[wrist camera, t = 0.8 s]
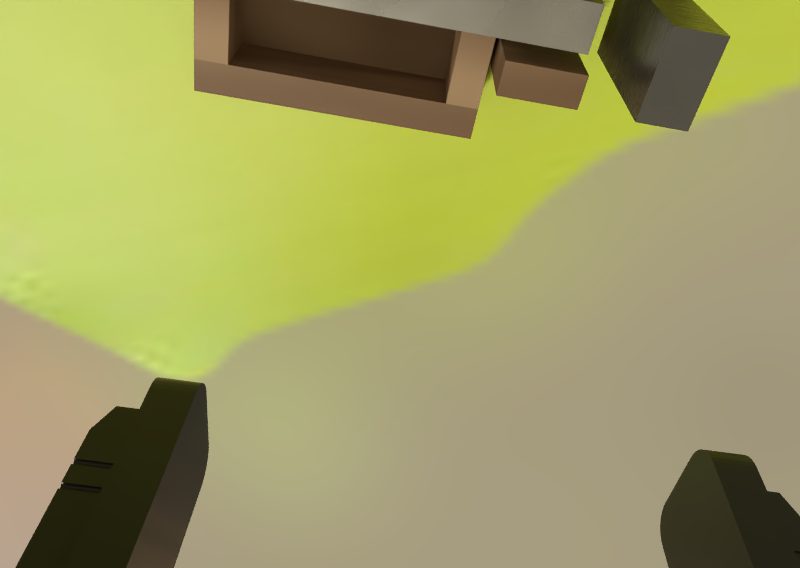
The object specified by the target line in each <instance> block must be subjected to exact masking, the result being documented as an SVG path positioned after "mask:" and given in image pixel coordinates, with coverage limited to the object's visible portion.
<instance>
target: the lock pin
mask: <svg viewBox="0 0 800 568" xmlns="http://www.w3.org/2000/svg"><path fill="white" fill-rule="evenodd" d="M296 1H302V2H307V3H312V4H318V5H323V6H328V7H334V8H339V9H345V10H350V11H355V12H361V13H366V14H371V15H377V16H382V17H388V18H393V19H398V20H404V21H409V22H414V23H420V24H425V25H431V26H436V27H441V28H447V29H452V30H457V31H463V32H468V33H474V34H479V35H484V36H490V37H495V38H501V39H506V40H511V41H517V42H522V43H527V44H533V45H538V46H544V47H549V48H554V49H560V50H565V51H570V52H576V53H581V54H587V55H588V53H589V50H590V47H591V44H592V41H593V38H594V35H595V32H596V29H597V26H598V23H599V20H600V17H601V14H602V11H603V8H604V5H605V4H604V3H603V1H602V0H296ZM729 39H730V36H729V35H728V34H727V33H726V32H725V31H724V30H723V29H722V28H721V27H720V26H719V25H718V24H717V23H716V22H715V21H714V20H713V19H712V18H711V17H709V16H708V15H707V14H706V13H705V12H704V11H703V10H702V9H701V8H700V7H699V6H698V5H697V4H696V3H695V2H694V1H693V0H615V2H614V5H613V8H612V11H611V14H610V16H609V19H608V22H607V25H606V28H605V31H604V34H603V37H602V40H601V43H600V46H599V49H598V52H597V53H598V55H599V56H600V58H601V60H602V62H603V64H604V66H605V67H606V69H607V71H608V73H609V75H610V77H611V78H612V80H613V82H614V84H615V86H616V88H617V89H618V91H619V93H620V95H621V97H622V99H623V100H624V102H625V104H626V106H627V108H628V110H629V111H630V113H631V115H632V117H633V119H634V120H635V122H638V123H644V124H649V125H655V126H660V127H666V128H671V129H677V130H683V131H688V130H689V128H690V126H691V123H692V121H693V119H694V117H695V114H696V112H697V110H698V108H699V106H700V103H701V101H702V99H703V97H704V94H705V92H706V90H707V88H708V85H709V83H710V81H711V79H712V76H713V74H714V72H715V70H716V68H717V65H718V63H719V61H720V59H721V56H722V54H723V52H724V50H725V47H726V45H727V43H728V41H729Z"/></svg>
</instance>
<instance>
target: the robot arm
mask: <svg viewBox="0 0 800 568" xmlns="http://www.w3.org/2000/svg"><path fill="white" fill-rule="evenodd" d="M208 445H209V442H208V419H207V397H206V386H205V384H204V383H197V382H190V381H182V380H174V379H166V378H156V379H155V380H154V381H153V383H152V384H151V386H150V388H149V391H148V392H147V395H146V397H145V399H144V401H143V403H142V405H141V407H140V409H134V408H126V407H119V406H117V407H115V408H114V409H113V410H112V411H111V412H109V413H108V414H107V415H106V416H105V417H104V418H103V419H101V420H100V421H99V422H98V423H97V424H96V425H95V426H94V427H92V428H91V429H90V430H89V432H88V434H87V436H86V438H85V439H84V441H83V443H82V445H81V447H80V449H79V451H78V452H77V454H76V456H75V458H74V463H73V464H71V466H70V467H69V469H68V471H67V473H66V475H65V477H64V478H63V480H62V482H61V487H60V489H58V490H57V491H56V493H55V495H54V497H53V499H52V501H51V503H50V505H49V506H48V508H47V510H46V512H45V514H44V516H43V518H42V519H41V521H40V523H39V525H38V527H37V529H36V530H35V533H34V534H33V536H32V538H31V540H30V542H29V543H28V545H27V547H26V549H25V551H24V553H23V555H22V557H21V558H20V561H19V562H18V564H17V566H16V568H174V566H175V563H176V560H177V557H178V554H179V551H180V548H181V545H182V542H183V539H184V536H185V533H186V530H187V527H188V524H189V521H190V518H191V516H192V512H193V510H194V507H195V504H196V501H197V498H198V495H199V492H200V489H201V486H202V483H203V479H204V476H205V471H206V466H207V459H208V450H209V449H208V448H209V446H208ZM660 531H661V541H662V545H663V549H664V552H665V556H666V559H667V563H668V567H669V568H800V516H799V515H798V514H797V512H796V511H795V510H794V509H793V508H792V507H791V506H790V505H789V503H788V502H787V501H786V500H785V499H784V498H783V497H782V496H781V494H780V493H777V492H769V491H767V490H766V487H765V485H764V483H763V481H762V478H761V476H760V474H759V472H758V469H757V467H756V465H755V463H754V462H753V461H752V459H751V458H749V457H748V456H746V455H740V454H732V453H724V452H717V451H709V450H698V451H696V452H695V453H694V454H693V455H692V457H691V459H690V461H689V462H688V464H687V466H686V467H685V469H684V471H683V473H682V475H681V476H680V478H679V480H678V482H677V483H676V485H675V487H674V489H673V491H672V492H671V494H670V496H669V498H668V499H667V501H666V503H665V505H664V508H663V511H662V515H661V524H660Z"/></svg>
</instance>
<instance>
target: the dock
mask: <svg viewBox="0 0 800 568" xmlns="http://www.w3.org/2000/svg"><path fill="white" fill-rule="evenodd" d="M489 63H491V69H492V74H493V79H494V85H495V90H496V95H497V96H503V97H508V98H514V99H519V100H525V101H530V102H536V103H541V104H547V105H553V106H558V107H564V108H569V109H575V110H577V109H578V107H579V104H580V101H581V98H582V95H583V92H584V89H585V86H586V83H587V80H588V77H589V75H588V73H587V71H586V69H585V67H584V65H583V62H582V60H581V58H580V56H579V54H578V53H576V52H570V51H565V50H560V49H554V48H549V47H544V46H538V45H533V44H527V43H522V42H517V41H511V40H506V39H501V38H495V37H490V36H484V35H479V34H474V33H468V32H463V31H457V30H452V29H447V28H441V27H436V26H431V25H425V24H420V23H414V22H409V21H404V20H398V19H393V18H388V17H382V16H377V15H371V14H366V13H361V12H355V11H350V10H345V9H339V8H334V7H328V6H323V5H318V4H312V3H307V2H302V1H296V0H194V90H195V91H200V92H206V93H212V94H217V95H223V96H229V97H234V98H240V99H246V100H252V101H257V102H263V103H269V104H274V105H280V106H286V107H292V108H297V109H303V110H309V111H314V112H320V113H326V114H332V115H337V116H343V117H349V118H354V119H360V120H366V121H372V122H377V123H383V124H389V125H394V126H400V127H406V128H412V129H417V130H423V131H429V132H434V133H440V134H446V135H452V136H457V137H463V138H469V139H471V135H472V131H473V127H474V123H475V119H476V115H477V111H478V107H479V103H480V99H481V95H482V91H483V87H484V83H485V79H486V75H487V71H488V67H489Z"/></svg>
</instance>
